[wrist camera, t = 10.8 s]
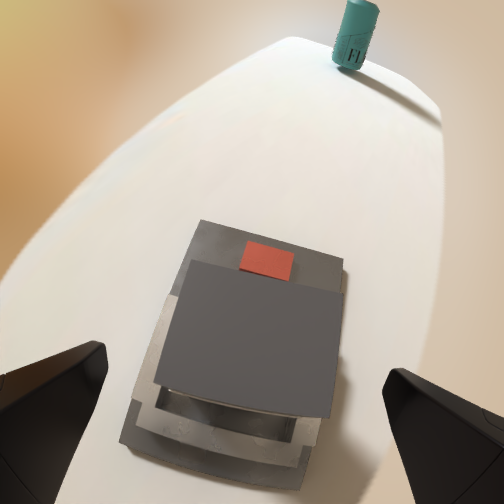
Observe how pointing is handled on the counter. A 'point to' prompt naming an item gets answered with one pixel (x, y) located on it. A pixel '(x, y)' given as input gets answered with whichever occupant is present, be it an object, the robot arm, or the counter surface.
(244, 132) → the counter surface
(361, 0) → the beverage bottle
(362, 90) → the counter surface
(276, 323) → the plug block
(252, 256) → the grey socket base
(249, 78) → the counter surface
